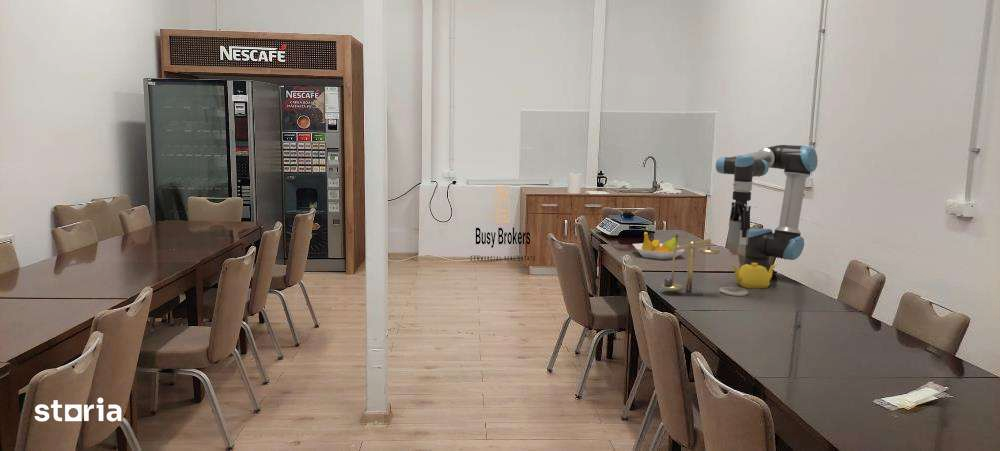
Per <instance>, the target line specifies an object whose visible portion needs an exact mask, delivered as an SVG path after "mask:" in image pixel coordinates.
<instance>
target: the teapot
mask: <svg viewBox="0 0 1000 451" xmlns="http://www.w3.org/2000/svg"><path fill="white" fill-rule="evenodd" d="M751 264H752V265H748V264H745V265H742V264H741V265H742V267H741V266H740V268H741V269H740V268H739V267H738V266H737V264H733V263H731V266H733V268H734V277H735V279H736V282H737V284H738V285H739V286H740V287H742V288H745V289H751V290H752V289H756V290H758V289H761V288H764V289H767V288H768V287H769V286H770V284H771V283H770V281H771V279H772V277H773V272H774V269H775V267H776V266H778V264H772V265H771V267H770V269H769V271H767V269H766V268H765V267H763V266H760V265H758V263H751ZM761 290H762V289H761Z"/></svg>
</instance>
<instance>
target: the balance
mask: <svg viewBox="0 0 1000 451" xmlns="http://www.w3.org/2000/svg"><path fill="white" fill-rule="evenodd" d="M711 242H712V239H711V238H707V239H703V240H699V241H693V240H692V241H689V242H688V244H683V245H678V246H679V247H675V248H673V259H672V263H671V264H672V266H671V268H672V269H671V278H664V283H662V284H660V286H661V288H662V289H664V290H670V291H674V292H675V293H676V294H677V295H678V296H683V297H684V296H685V297H687V296H689V297H690V296H691V297H692V296H693V297H696V296H698V297H699V296H700V297H701V296H702V297H703V296H704V292H703V291H700V290H699V289H698V288H696V287H695V288H693V277H694V265H695V264H694V262H695V249H696V246H700V245H704V244H708V246H707V247H699V248H697V252H698V253H701V254H706V255H718V254H720V252H721V250H720V249H718V248H712V247H711ZM682 249H684V250H686V249H688V253H687V270H686V272H687V273H686V281H685V282H686V286H685V287H683V285H682V284H680V283H674V278H675V277H674V276H675V275H674V274H675V263H676V262H675V260H676V258H675V251H678V250H682Z"/></svg>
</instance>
